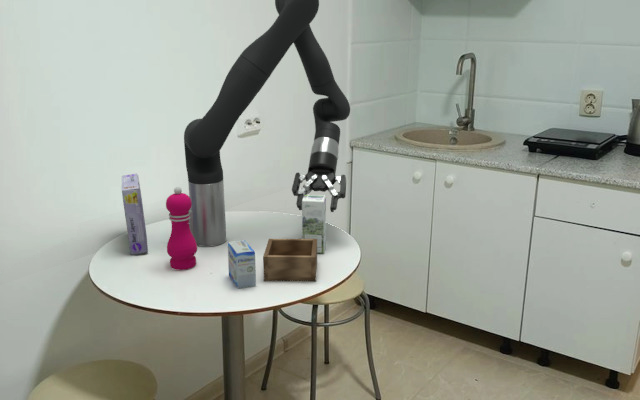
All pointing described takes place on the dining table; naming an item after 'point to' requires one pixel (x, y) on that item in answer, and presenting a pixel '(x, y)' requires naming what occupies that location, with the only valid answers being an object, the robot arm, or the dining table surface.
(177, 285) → the dining table surface
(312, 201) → the syrup box
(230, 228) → the dining table surface
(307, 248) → the open wooden box
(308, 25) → the robot arm
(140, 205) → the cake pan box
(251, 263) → the medicine box
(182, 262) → the pepper mill
